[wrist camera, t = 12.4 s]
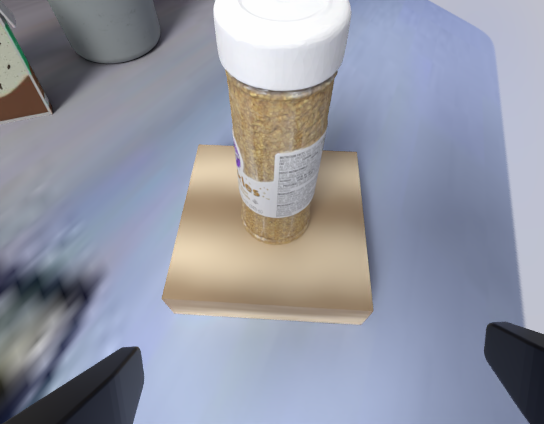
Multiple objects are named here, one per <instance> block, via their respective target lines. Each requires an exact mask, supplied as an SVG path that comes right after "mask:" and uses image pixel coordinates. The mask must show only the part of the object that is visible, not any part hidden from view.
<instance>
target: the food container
mask: <svg viewBox="0 0 544 424" xmlns="http://www.w3.org/2000/svg"><path fill="white" fill-rule="evenodd" d="M4 17H5V18H6V19H5V18H4ZM6 20H7V21H8V22H9V23H10V24H11V25H12V26H13V27H14V28H15V27H16V20H15V18H14V15H13V14H12V13H11V12H10V11H9V9H8V8H7V7H6V6H5V5H4V4H3V3H2V1H1V0H0V125H1V124H6V123H11V122H16V121H21V120H26V119H31V118H36V117H41V116H47V115H52V114H53V111H52V106H51V104H50V102H49V100H48V98H47V96H46V94H45V93H44V91H43V89H42V87H41V85H40V83H39V81H38V79H37V78H36V76H35V74H34V72H33V70H32V68H31V66H30V64H29V63H28V61H27V59H26V57H25V55H24V53H23V51H22V49H21V48H20V46H19V44H18V42H17V40H16V38H15V36H14V34H13V33H12V31H11V29H10V27H9V25H8V23H7V21H6Z"/></svg>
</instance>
